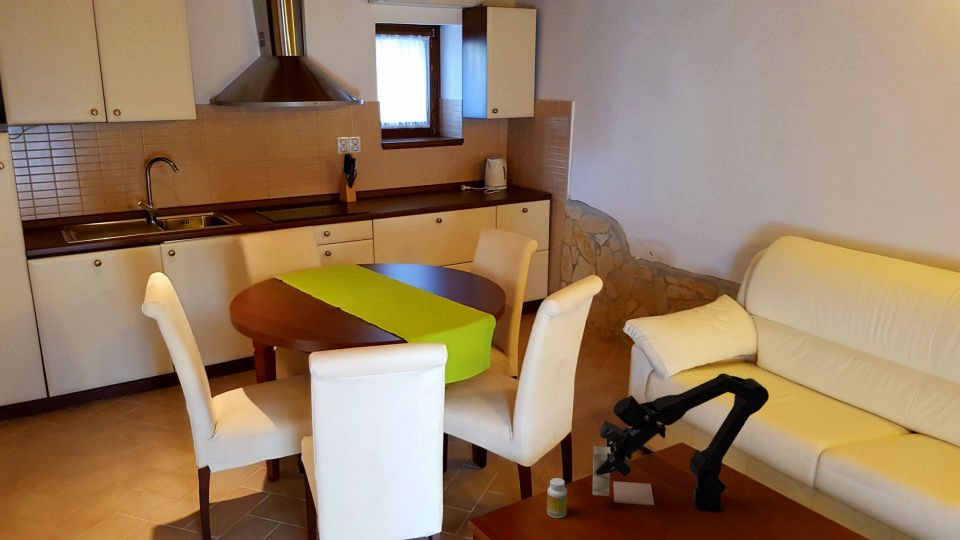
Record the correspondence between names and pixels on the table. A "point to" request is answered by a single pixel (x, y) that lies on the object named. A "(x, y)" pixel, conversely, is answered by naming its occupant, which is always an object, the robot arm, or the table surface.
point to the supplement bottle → (557, 498)
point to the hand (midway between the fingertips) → (596, 469)
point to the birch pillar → (602, 481)
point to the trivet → (633, 493)
